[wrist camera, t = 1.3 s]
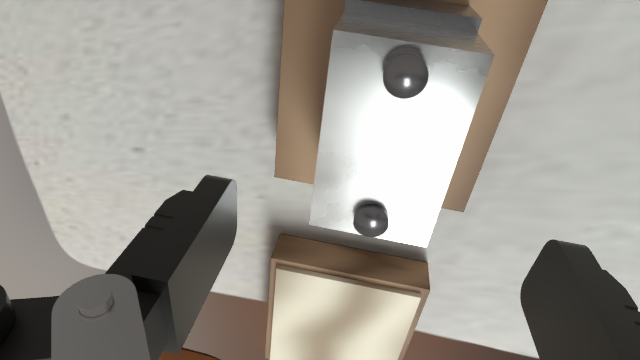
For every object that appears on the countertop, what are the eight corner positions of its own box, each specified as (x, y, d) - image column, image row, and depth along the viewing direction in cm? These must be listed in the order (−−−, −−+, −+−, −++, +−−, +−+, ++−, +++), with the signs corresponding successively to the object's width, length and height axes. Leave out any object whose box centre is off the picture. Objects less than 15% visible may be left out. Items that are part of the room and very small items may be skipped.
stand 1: (535, -31, 18) (557, -25, 16) (456, 183, 25) (463, 212, 22) (302, -63, 19) (287, -62, 16) (286, 152, 26) (274, 177, 23)
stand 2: (427, 262, 29) (430, 294, 26) (392, 358, 35) (392, 390, 33) (280, 233, 29) (269, 262, 27) (273, 332, 36) (263, 362, 34)
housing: (469, 5, 17) (503, 40, 11) (417, 180, 22) (423, 262, 16) (352, -12, 17) (333, 15, 12) (327, 164, 22) (306, 239, 17)
